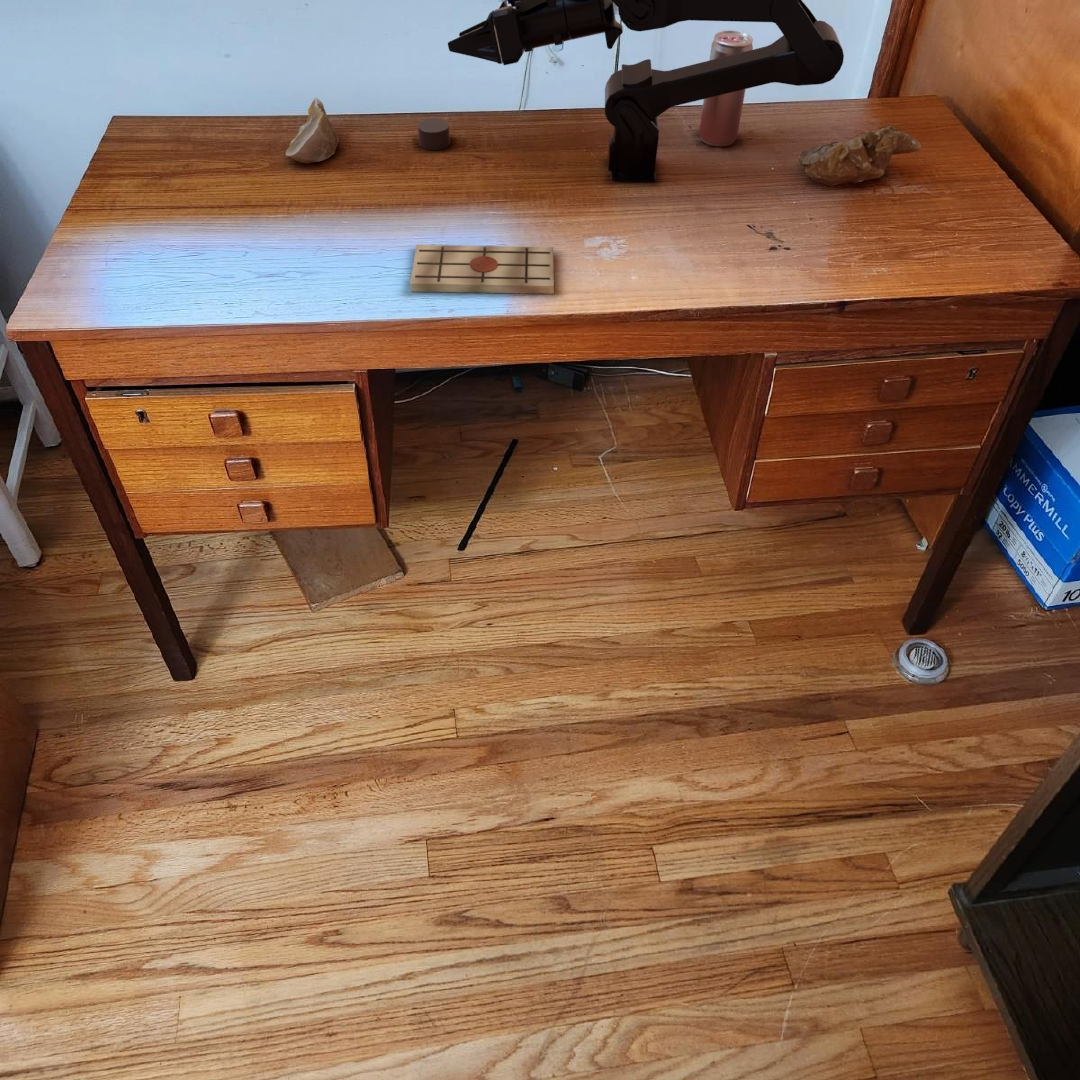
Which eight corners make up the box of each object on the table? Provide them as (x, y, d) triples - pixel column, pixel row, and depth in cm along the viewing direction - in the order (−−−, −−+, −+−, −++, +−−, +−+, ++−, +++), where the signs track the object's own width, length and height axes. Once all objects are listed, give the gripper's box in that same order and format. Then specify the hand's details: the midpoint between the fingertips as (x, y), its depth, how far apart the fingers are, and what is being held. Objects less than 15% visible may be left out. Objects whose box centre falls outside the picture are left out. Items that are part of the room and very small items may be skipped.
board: (553, 255, 127) (553, 246, 126) (553, 293, 121) (553, 284, 120) (417, 252, 127) (416, 243, 126) (410, 291, 121) (410, 282, 120)
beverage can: (698, 128, 152) (713, 28, 141) (736, 131, 152) (754, 31, 141) (697, 146, 148) (712, 44, 137) (736, 149, 148) (754, 47, 137)
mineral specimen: (849, 202, 151) (788, 192, 142) (844, 155, 150) (783, 143, 141) (925, 174, 140) (865, 161, 131) (920, 124, 140) (859, 108, 131)
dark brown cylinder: (451, 136, 149) (450, 118, 147) (449, 150, 146) (448, 132, 144) (420, 135, 149) (418, 117, 147) (417, 150, 146) (416, 132, 144)
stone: (286, 127, 136) (300, 76, 145) (282, 167, 140) (296, 115, 150) (337, 140, 137) (347, 89, 147) (331, 180, 142) (341, 128, 152)
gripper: (560, -58, 130) (450, -32, 133) (548, -50, 115) (425, -20, 118) (575, 32, 136) (470, 56, 139) (566, 52, 121) (448, 78, 124)
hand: (454, 41), depth 130 cm, fingers open, 9 cm apart
